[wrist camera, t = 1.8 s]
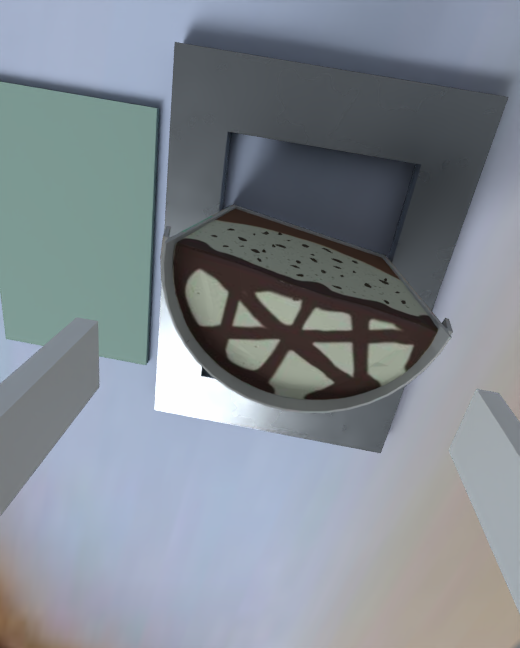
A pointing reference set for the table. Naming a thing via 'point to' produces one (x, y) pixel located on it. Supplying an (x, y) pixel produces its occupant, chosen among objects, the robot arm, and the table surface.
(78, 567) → the table surface
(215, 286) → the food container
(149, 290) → the pad
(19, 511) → the table surface
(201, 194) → the grey rectangular frame
